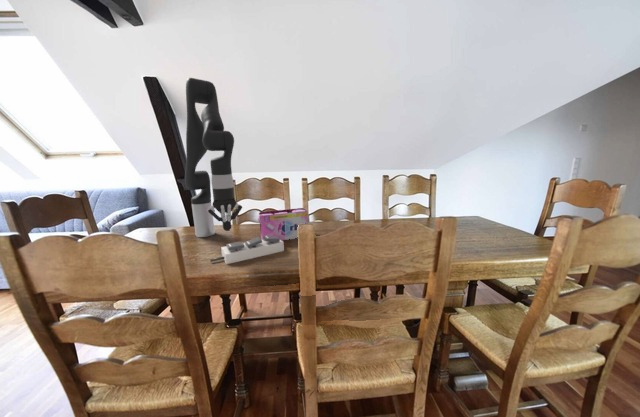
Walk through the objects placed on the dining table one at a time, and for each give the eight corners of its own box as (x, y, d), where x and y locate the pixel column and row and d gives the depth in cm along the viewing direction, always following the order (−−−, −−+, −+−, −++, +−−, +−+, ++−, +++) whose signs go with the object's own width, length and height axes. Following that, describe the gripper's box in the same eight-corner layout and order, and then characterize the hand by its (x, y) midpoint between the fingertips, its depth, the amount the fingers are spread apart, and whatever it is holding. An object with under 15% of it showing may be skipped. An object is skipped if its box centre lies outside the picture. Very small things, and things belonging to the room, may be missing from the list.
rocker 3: (262, 238, 109) (262, 235, 109) (275, 238, 112) (275, 235, 112) (266, 241, 105) (266, 238, 105) (279, 241, 108) (279, 238, 108)
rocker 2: (245, 244, 106) (244, 241, 105) (258, 239, 108) (258, 236, 108) (248, 248, 102) (247, 245, 101) (262, 242, 104) (261, 239, 104)
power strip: (209, 259, 103) (207, 247, 102) (276, 244, 117) (275, 234, 116) (212, 267, 95) (211, 255, 94) (284, 250, 110) (283, 240, 109)
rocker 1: (226, 246, 102) (226, 243, 101) (241, 244, 105) (241, 241, 104) (228, 250, 98) (228, 247, 98) (244, 247, 101) (244, 244, 101)
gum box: (260, 243, 119) (258, 215, 116) (258, 238, 126) (256, 212, 123) (308, 237, 127) (308, 210, 124) (304, 232, 134) (303, 207, 131)
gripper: (238, 183, 101) (242, 225, 105) (202, 186, 94) (207, 230, 98) (243, 186, 95) (246, 230, 99) (205, 189, 88) (210, 236, 92)
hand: (227, 230), depth 99 cm, fingers closed
